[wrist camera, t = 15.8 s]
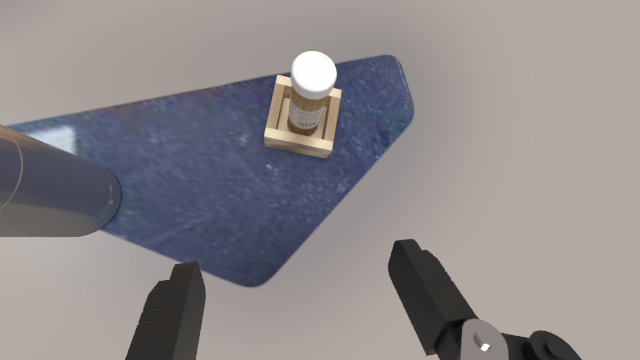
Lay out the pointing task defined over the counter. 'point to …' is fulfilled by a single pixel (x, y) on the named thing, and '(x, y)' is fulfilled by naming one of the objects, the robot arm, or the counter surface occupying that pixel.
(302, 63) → the sprinkles bottle
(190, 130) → the counter surface
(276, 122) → the socket block
